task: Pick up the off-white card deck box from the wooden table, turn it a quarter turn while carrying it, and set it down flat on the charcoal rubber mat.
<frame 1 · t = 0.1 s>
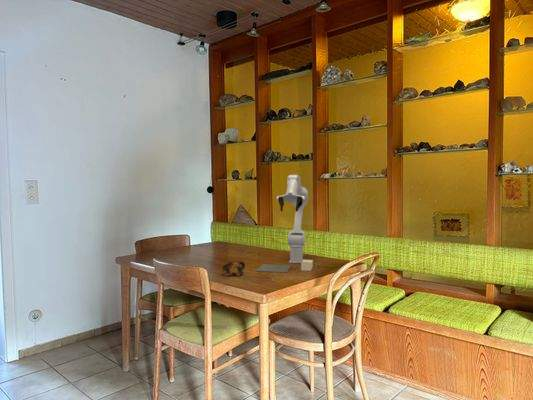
hand: (288, 210, 203), 32 cm above the table, tool tilted 50°, fingers open, 7 cm apart
deck box: (307, 268, 214), on the table
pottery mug: (234, 274, 202), on the table
mat: (274, 268, 214), on the table
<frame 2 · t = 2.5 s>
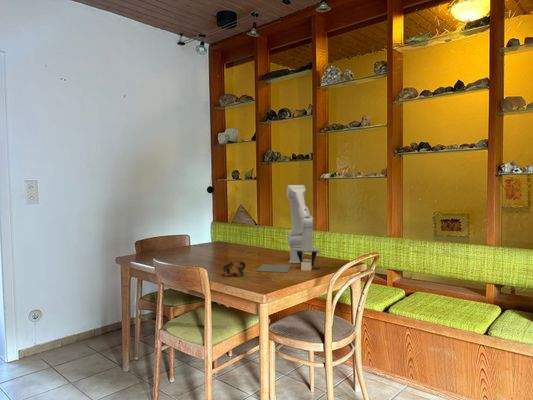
hand: (307, 265, 214), 1 cm above the table, tool pointing down, fingers closed on deck box, 5 cm apart
deck box: (307, 268, 214), on the table, touching gripper
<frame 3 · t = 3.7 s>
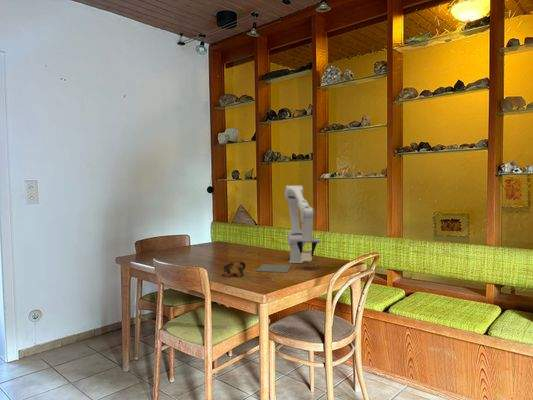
hand: (307, 256, 214), 7 cm above the table, tool pointing down, fingers closed on deck box, 5 cm apart
deck box: (307, 259, 214), point 5 cm above the table, touching gripper
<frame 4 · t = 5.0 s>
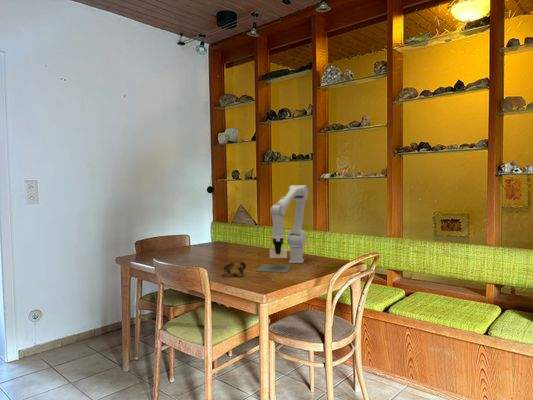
hand: (278, 252, 213), 8 cm above the table, tool pointing down, fingers closed on deck box, 5 cm apart
deck box: (278, 256, 213), point 6 cm above the table, touching gripper
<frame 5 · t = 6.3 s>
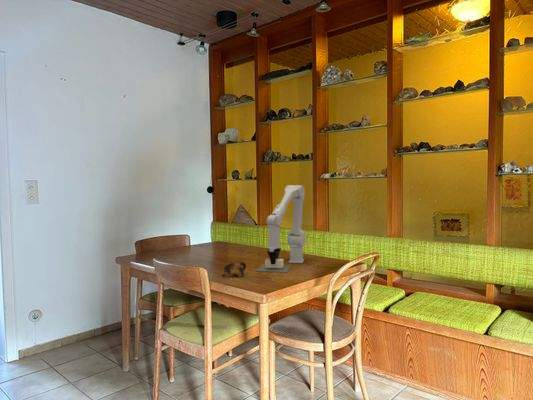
hand: (274, 263, 214), 3 cm above the table, tool pointing down, fingers closed on deck box, 5 cm apart
deck box: (274, 267, 214), point 1 cm above the table, touching gripper
when the fingers open (3 cm above the table, at t = 7.1 s): deck box stays where it is, resting on mat.
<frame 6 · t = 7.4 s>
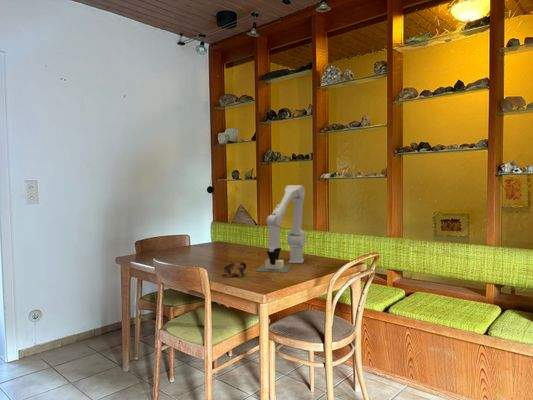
hand: (274, 263, 214), 3 cm above the table, tool pointing down, fingers open, 7 cm apart
deck box: (274, 267, 214), resting on mat
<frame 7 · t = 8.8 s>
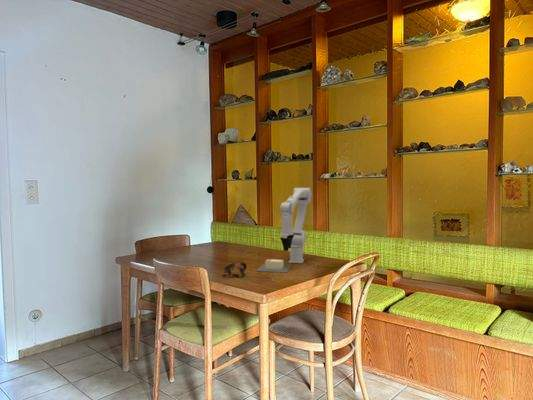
hand: (287, 249, 218), 9 cm above the table, tool pointing down, fingers open, 7 cm apart
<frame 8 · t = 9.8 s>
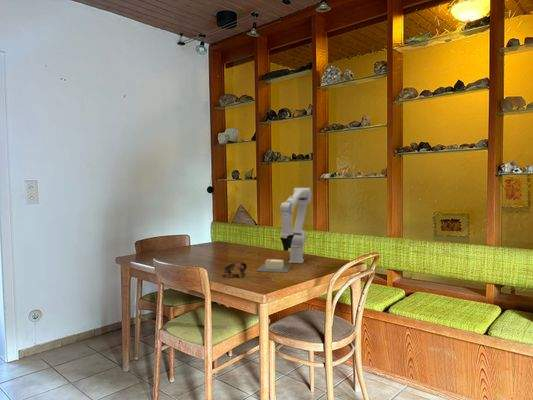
hand: (287, 249, 218), 9 cm above the table, tool pointing down, fingers open, 7 cm apart
at the end: deck box inside the target area on the mat (0.1 cm from its centre), point 0.4 cm above the mat's base; deck box tilted 0°; the gripper is holding nothing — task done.
